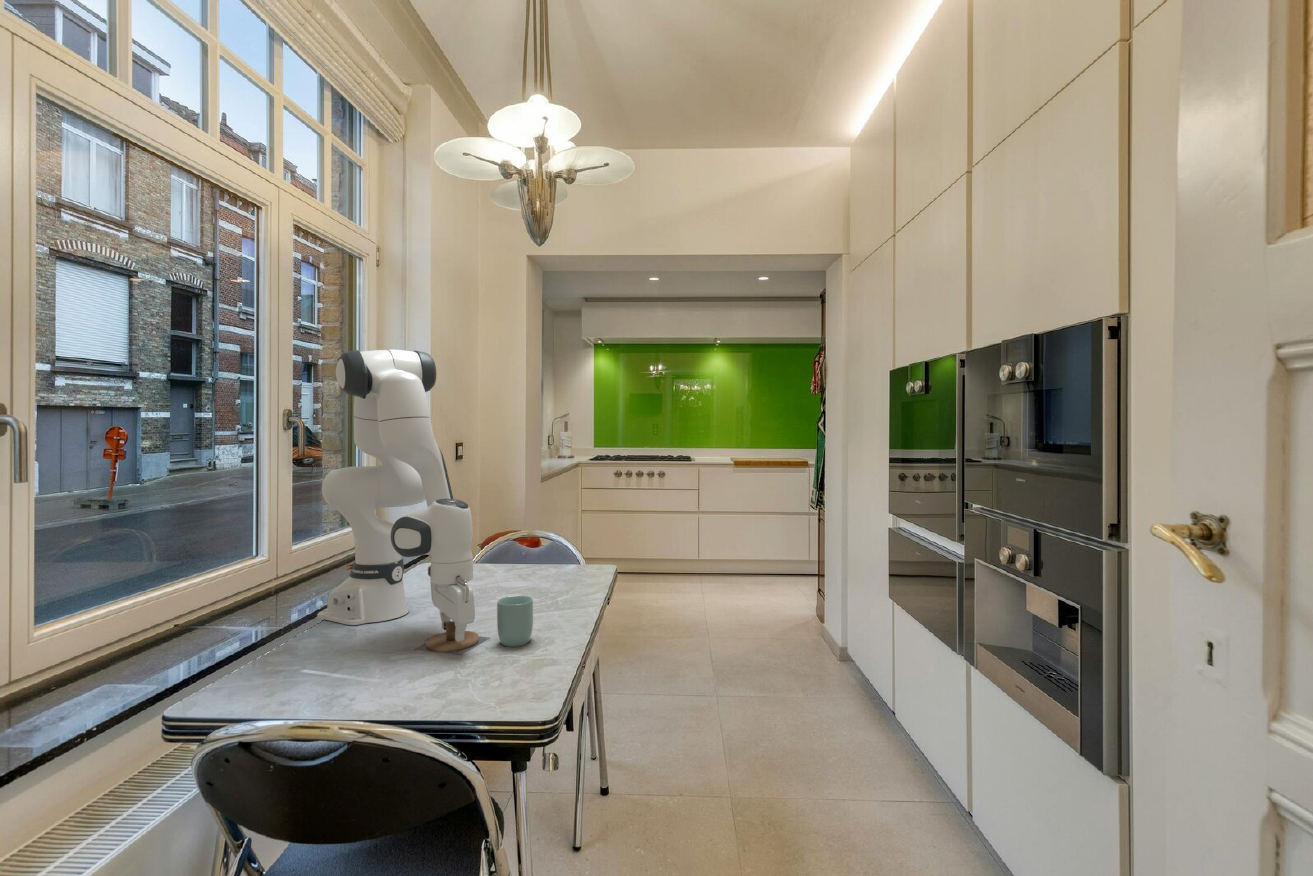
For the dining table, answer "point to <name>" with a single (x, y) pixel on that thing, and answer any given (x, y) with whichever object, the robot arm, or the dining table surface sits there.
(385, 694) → the dining table surface
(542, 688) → the dining table surface
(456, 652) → the mat
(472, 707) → the dining table surface
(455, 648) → the lid
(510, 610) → the cup
